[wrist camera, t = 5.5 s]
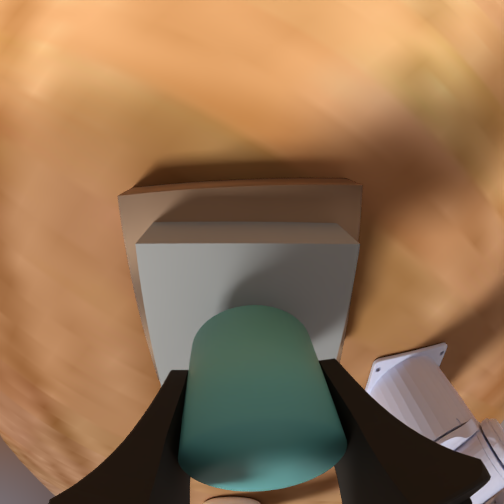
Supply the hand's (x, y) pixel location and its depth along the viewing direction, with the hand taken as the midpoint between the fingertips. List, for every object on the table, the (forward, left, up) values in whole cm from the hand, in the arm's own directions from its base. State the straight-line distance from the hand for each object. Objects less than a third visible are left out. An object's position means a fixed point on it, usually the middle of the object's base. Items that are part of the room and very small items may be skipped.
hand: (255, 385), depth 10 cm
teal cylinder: (0, 0, -2) cm, 2 cm away
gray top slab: (0, 0, -6) cm, 6 cm away
